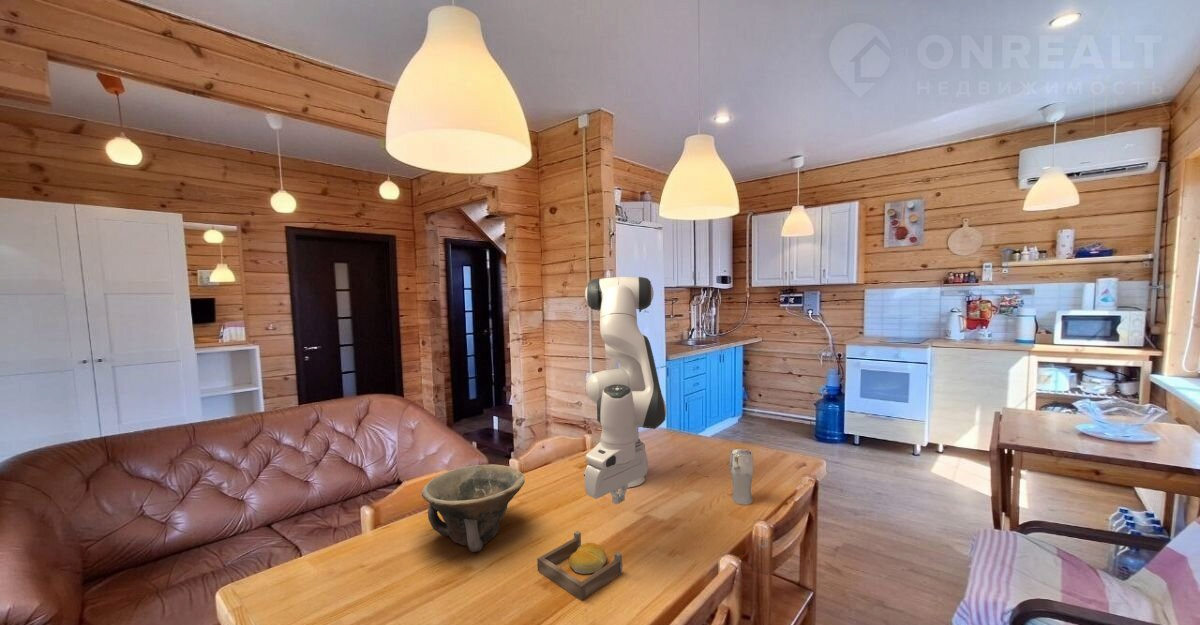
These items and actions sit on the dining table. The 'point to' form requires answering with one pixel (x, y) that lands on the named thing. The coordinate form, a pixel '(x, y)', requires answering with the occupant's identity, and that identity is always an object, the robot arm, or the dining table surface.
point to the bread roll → (588, 558)
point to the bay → (568, 581)
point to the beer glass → (741, 475)
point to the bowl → (471, 502)
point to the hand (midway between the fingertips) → (618, 501)
